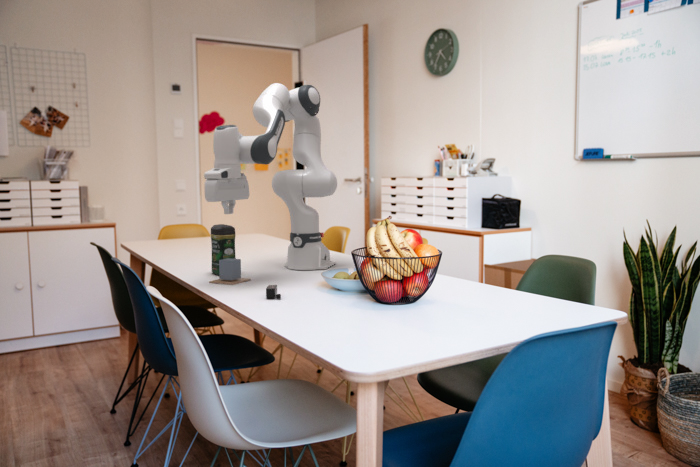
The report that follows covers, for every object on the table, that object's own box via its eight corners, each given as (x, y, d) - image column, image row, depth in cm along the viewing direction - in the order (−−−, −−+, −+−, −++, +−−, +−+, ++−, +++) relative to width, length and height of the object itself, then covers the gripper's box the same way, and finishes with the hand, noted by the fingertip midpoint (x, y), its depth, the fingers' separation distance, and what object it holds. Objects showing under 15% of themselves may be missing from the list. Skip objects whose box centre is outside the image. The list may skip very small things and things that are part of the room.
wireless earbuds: (265, 299, 169) (265, 289, 168) (268, 295, 176) (268, 285, 175) (280, 299, 169) (280, 289, 168) (283, 294, 176) (283, 284, 175)
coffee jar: (208, 273, 215) (207, 224, 213) (227, 271, 220) (226, 223, 218) (219, 276, 208) (218, 225, 206) (239, 274, 212) (238, 224, 211)
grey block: (228, 276, 201) (228, 258, 201) (241, 277, 199) (240, 259, 198) (219, 279, 196) (219, 260, 196) (231, 280, 194) (231, 261, 194)
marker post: (227, 278, 204) (227, 258, 204) (250, 280, 200) (250, 260, 200) (209, 282, 195) (208, 262, 195) (233, 284, 191) (232, 264, 191)
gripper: (238, 173, 205) (239, 211, 206) (200, 173, 186) (202, 215, 188) (253, 172, 202) (254, 212, 204) (216, 173, 184) (217, 216, 185)
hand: (228, 213), depth 196 cm, fingers closed
